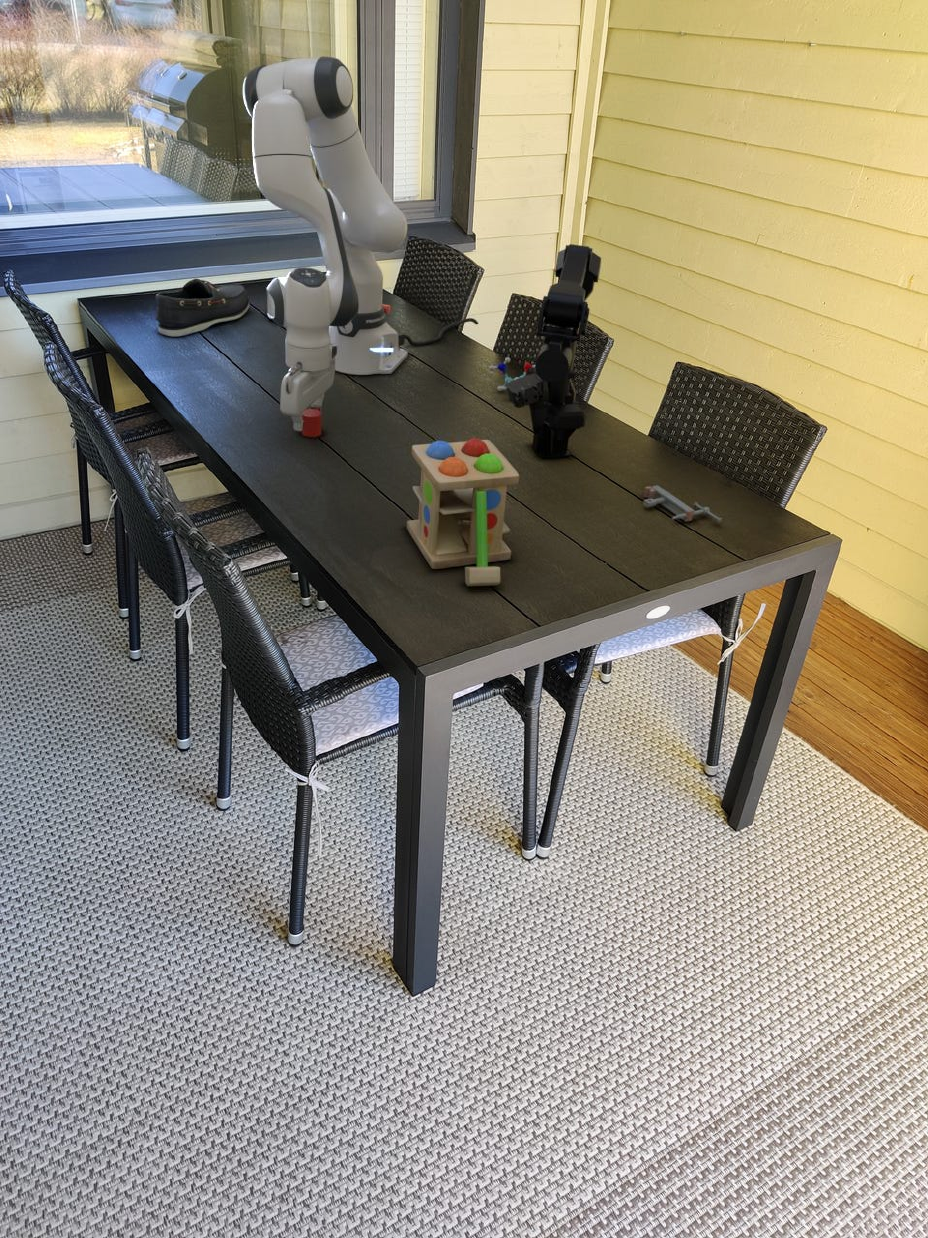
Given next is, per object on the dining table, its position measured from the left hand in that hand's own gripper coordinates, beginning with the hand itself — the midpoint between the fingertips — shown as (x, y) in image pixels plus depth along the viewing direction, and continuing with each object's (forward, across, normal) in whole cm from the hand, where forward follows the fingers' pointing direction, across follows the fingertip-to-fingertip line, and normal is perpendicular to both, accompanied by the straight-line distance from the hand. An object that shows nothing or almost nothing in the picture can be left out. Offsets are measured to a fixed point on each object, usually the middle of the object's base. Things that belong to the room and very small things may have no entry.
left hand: (307, 421), depth 201 cm
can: (+3, 0, -1) cm, 3 cm away
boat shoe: (+2, +55, +51) cm, 75 cm away
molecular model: (+2, +41, -34) cm, 54 cm away
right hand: (-8, -6, -50) cm, 51 cm away
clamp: (+2, -4, -76) cm, 77 cm away
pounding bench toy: (+3, -36, -43) cm, 56 cm away
